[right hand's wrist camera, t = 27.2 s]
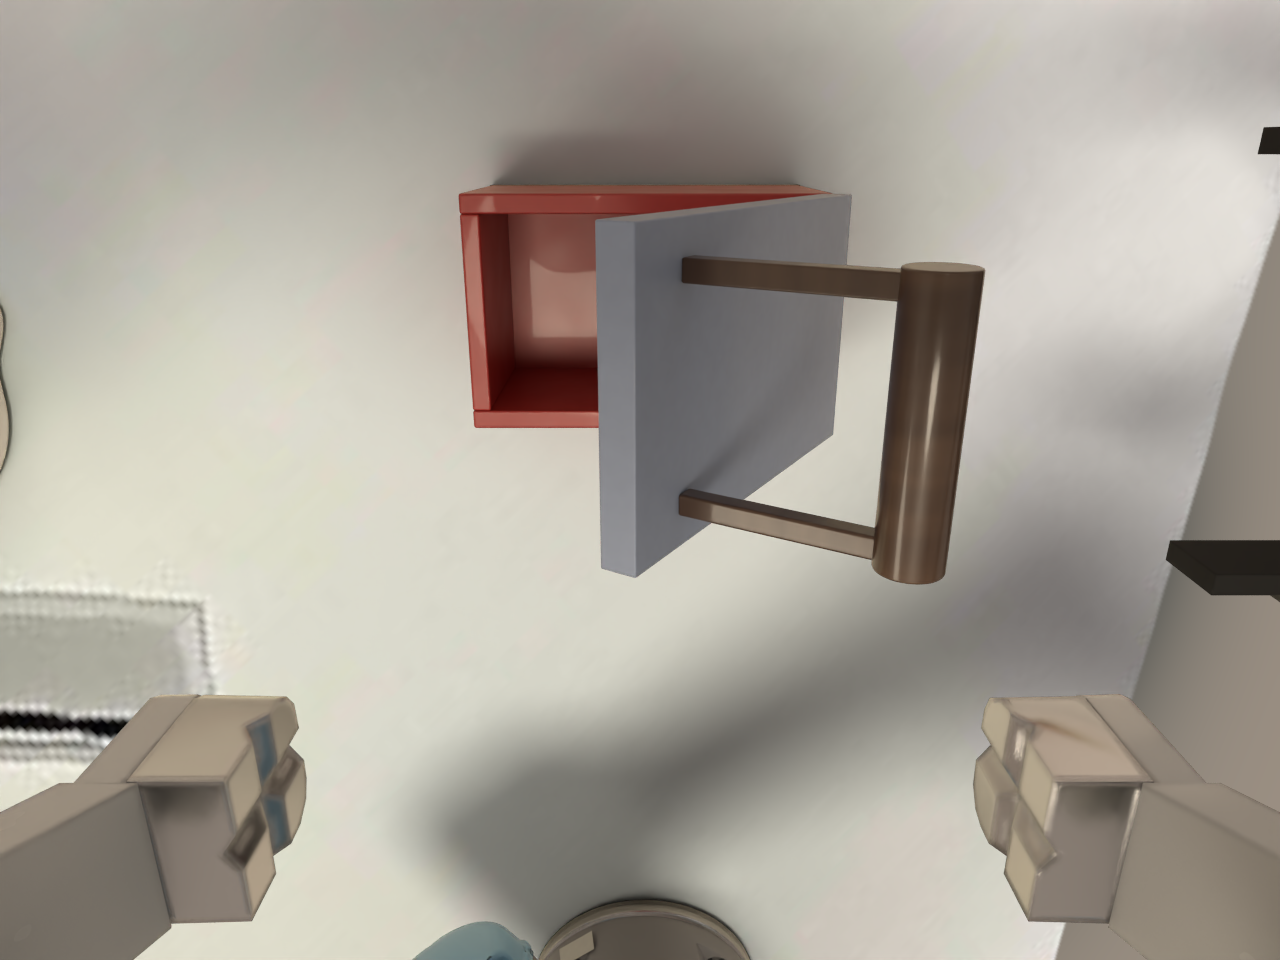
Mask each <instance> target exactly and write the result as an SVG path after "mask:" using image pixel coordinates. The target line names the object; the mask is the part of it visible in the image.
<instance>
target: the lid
mask: <svg viewBox="0 0 1280 960" xmlns="http://www.w3.org/2000/svg"><path fill="white" fill-rule="evenodd" d="M851 199H852V195H851V194H817V195H808V196H799V197H790V198H781V199H773V200H764V201H755V202H746V203H737V204H728V205H720V206H711V207H702V208H693V209H684V210H675V211H666V212H658V213H649V214H640V215H631V216H622V217H613V218H605V219H597V220H596V221H595V240H596V297H597V354H598V411H599V468H600V525H601V568H602V569H605V570H609V571H612V572H616V573H619V574H623V575H627V576H630V577H634V578H636V577H638V576H639V575H640V574H642V573H643V572H645V571H646V570H647V569H649V568H650V567H651V566H653V565H654V564H656V563H657V562H658V561H660V560H661V559H662V558H664V557H665V556H667V555H668V554H669V553H671V552H672V551H673V550H675V549H676V548H678V547H679V546H680V545H682V544H683V543H684V542H686V541H687V540H689V539H690V538H691V537H693V536H694V535H695V534H697V533H698V532H700V531H701V530H702V529H704V528H705V527H706V526H708V525H709V524H711V523H715V524H719V525H723V526H728V527H732V528H736V529H741V530H745V531H749V532H754V533H758V534H762V535H766V536H771V537H775V538H779V539H784V540H788V541H792V542H797V543H801V544H805V545H810V546H814V547H818V548H823V549H827V550H831V551H835V552H840V553H844V554H848V555H853V556H857V557H861V558H866V559H870V560H872V562H871V563H872V567H873V569H874V570H875V571H876V572H877V573H878V574H879V575H881V576H883V577H885V578H887V579H890V580H893V581H896V582H900V583H906V584H929V583H934V582H937V581H939V580H940V579H942V578H943V577H944V575H945V572H946V565H947V557H948V550H949V542H950V534H951V527H952V519H953V512H954V504H955V497H956V489H957V481H958V474H959V466H960V459H961V451H962V444H963V436H964V428H965V421H966V413H967V406H968V398H969V391H970V383H971V375H972V368H973V360H974V353H975V345H976V338H977V330H978V322H979V315H980V307H981V300H982V292H983V285H984V277H985V269H984V268H982V267H980V266H976V265H970V264H961V263H946V262H919V263H909V264H905V265H902V267H901V269H896V268H880V267H865V266H850V265H846V262H847V250H848V237H849V224H850V211H851ZM844 297H851V298H863V299H875V300H886V301H897V311H896V321H895V331H894V341H893V351H892V361H891V371H890V381H889V391H888V402H887V412H886V422H885V432H884V442H883V452H882V462H881V472H880V482H879V492H878V502H877V512H876V522H875V528H872V527H868V526H863V525H858V524H854V523H849V522H844V521H840V520H835V519H830V518H826V517H821V516H816V515H812V514H807V513H802V512H798V511H793V510H788V509H783V508H779V507H774V506H769V505H765V504H760V503H755V502H751V501H746V500H744V499H745V498H746V497H748V496H749V495H751V494H752V493H753V492H755V491H756V490H757V489H759V488H760V487H762V486H763V485H764V484H766V483H767V482H768V481H770V480H771V479H773V478H774V477H775V476H777V475H778V474H779V473H781V472H782V471H784V470H785V469H786V468H788V467H789V466H790V465H792V464H793V463H795V462H796V461H797V460H799V459H800V458H801V457H803V456H804V455H806V454H807V453H808V452H810V451H811V450H812V449H814V448H815V447H817V446H818V445H819V444H821V443H822V442H823V441H825V440H826V439H828V438H829V437H830V436H832V435H833V428H834V415H835V402H836V390H837V377H838V364H839V352H840V339H841V326H842V313H843V301H844Z"/></svg>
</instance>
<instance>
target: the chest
mask: <svg viewBox="0 0 1280 960" xmlns="http://www.w3.org/2000/svg"><path fill="white" fill-rule="evenodd" d="M817 194H832V193H828V192H824V191H820V190H816V189H811V188H807V187H803V186H800V185H490V186H488V187H484V188H480V189H476V190H472V191H468V192H464V193H460V194H459V209H460V213H461V215H460V223H461V238H462V253H463V267H464V282H465V297H466V311H467V326H468V340H469V355H470V370H471V384H472V399H473V409H474V412H473V414H474V426H475V427H476V428H599V411H598V354H597V297H596V240H595V221H596V220H597V219H605V218H613V217H622V216H631V215H640V214H649V213H658V212H666V211H675V210H684V209H693V208H702V207H711V206H720V205H728V204H737V203H746V202H755V201H764V200H773V199H781V198H790V197H799V196H808V195H817Z"/></svg>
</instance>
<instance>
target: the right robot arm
mask: <svg viewBox="0 0 1280 960" xmlns="http://www.w3.org/2000/svg"><path fill="white" fill-rule="evenodd" d="M2 336H3V316H2V312H1V310H0V348H1V343H2ZM8 436H9V421H8V411H7V406H6V401H5V397H4V393H3V389H2V385H1V381H0V470H1V467H2V465H3V462H4V459H5V455H6V451H7V445H8ZM298 729H299V726H298V721H297V716H296V711H295V706H294V703H293V702H292V701H291V700H290V699H289V698H288V697H284V696H236V695H203V696H201V695H159V696H156V697H152V698H150V699H149V700H148V701H147V702H146V703H145V705H144V706H143V707H142V708H141V709H140V710H139V711H138V712H137V713H136V714H135V716H134V717H133V718H132V719H131V720H130V721H129V722H128V723H127V724H126V726H125V727H124V728H123V729H122V730H121V731H120V732H119V733H118V734H117V736H116V737H115V738H114V739H113V740H112V741H111V742H110V743H109V744H108V745H107V747H106V748H105V749H104V750H103V751H102V752H101V753H100V754H99V755H98V757H97V758H96V759H95V760H94V761H93V762H92V763H91V764H90V765H89V766H88V768H87V769H86V770H85V771H84V772H83V773H82V774H81V775H80V776H79V778H78V779H77V780H76V781H75V782H74V783H59V784H57V785H55V786H53V787H51V788H49V789H46V790H44V791H42V792H40V793H38V794H36V795H34V796H32V797H30V798H28V799H26V800H24V801H22V802H20V803H18V804H16V805H14V806H12V807H10V808H8V809H6V810H4V811H2V812H0V960H133V959H135V958H136V957H137V956H138V955H139V954H141V953H142V952H143V951H144V950H145V949H147V948H148V947H149V946H150V945H151V944H153V943H154V942H155V941H156V940H157V939H159V938H160V937H161V936H162V935H163V934H165V933H166V932H167V931H168V930H170V929H171V924H173V923H208V922H242V921H252V920H253V918H254V916H255V914H256V912H257V910H258V908H259V906H260V904H261V902H262V900H263V898H264V896H265V894H266V892H267V890H268V888H269V886H270V885H271V883H272V881H273V879H274V877H275V875H276V870H275V864H274V858H273V856H274V855H275V854H277V853H278V852H280V851H281V850H282V849H284V848H285V847H287V846H288V845H290V844H291V843H292V841H293V839H294V837H295V834H296V832H297V830H298V828H299V826H300V824H301V820H302V815H303V811H304V806H305V802H306V779H307V778H306V771H305V764H304V760H303V759H302V758H301V757H300V755H299V754H298V753H297V752H296V751H295V750H294V749H293V748H292V747H291V746H290V745H289V744H290V742H291V741H292V739H293V737H294V736H295V734H296V732H297V730H298ZM981 729H982V730H983V732H984V734H985V736H986V737H987V739H988V741H989V742H990V744H991V745H990V746H989V747H988V748H987V749H986V750H985V751H984V752H983V753H982V754H981V755H980V757H979V758H978V759H977V760H976V765H975V773H974V781H973V789H974V799H975V809H976V812H977V816H978V819H979V823H980V826H981V828H982V830H983V832H984V835H985V837H986V839H987V841H988V843H989V844H990V845H992V846H993V847H995V848H996V849H998V850H999V851H1000V852H1002V853H1003V854H1005V855H1006V856H1007V858H1006V864H1005V869H1004V875H1005V877H1006V879H1007V881H1008V883H1009V885H1010V886H1011V888H1012V890H1013V892H1014V894H1015V896H1016V898H1017V900H1018V902H1019V904H1020V906H1021V908H1022V910H1023V912H1024V914H1025V916H1026V918H1027V920H1028V921H1036V922H1071V923H1107V924H1109V926H1108V927H1109V928H1110V929H1111V930H1112V931H1113V932H1115V933H1116V934H1117V935H1118V936H1119V937H1121V938H1122V939H1123V940H1124V941H1125V942H1127V943H1128V944H1129V945H1130V946H1131V947H1133V948H1134V949H1135V950H1136V951H1137V952H1139V953H1140V954H1141V955H1142V956H1143V957H1145V958H1146V959H1147V960H1280V812H1278V811H1276V810H1274V809H1272V808H1270V807H1268V806H1266V805H1264V804H1262V803H1260V802H1258V801H1256V800H1254V799H1252V798H1250V797H1248V796H1246V795H1244V794H1242V793H1240V792H1238V791H1235V790H1233V789H1231V788H1229V787H1227V786H1225V785H1223V784H1221V783H1206V782H1205V781H1204V780H1203V779H1202V778H1201V777H1200V775H1199V774H1198V773H1197V772H1196V771H1195V770H1194V769H1193V768H1192V767H1191V765H1190V764H1189V763H1188V762H1187V761H1186V760H1185V759H1184V758H1183V757H1182V755H1181V754H1180V753H1179V752H1178V751H1177V750H1176V749H1175V748H1174V747H1173V746H1172V744H1171V743H1170V742H1169V741H1168V740H1167V739H1166V738H1165V737H1164V736H1163V734H1162V733H1161V732H1160V731H1159V730H1158V729H1157V728H1156V727H1155V726H1154V724H1153V723H1152V722H1151V721H1150V720H1149V719H1148V718H1147V717H1146V716H1145V714H1144V713H1143V712H1142V711H1141V710H1140V709H1139V708H1138V707H1137V706H1136V705H1135V703H1134V702H1133V701H1132V700H1131V699H1129V698H1127V697H1125V696H1123V695H1121V694H1106V695H1077V696H1062V697H1007V698H990V699H989V701H988V703H987V705H986V707H985V709H984V714H983V720H982V726H981Z"/></svg>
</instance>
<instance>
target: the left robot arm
mask: <svg viewBox="0 0 1280 960" xmlns="http://www.w3.org/2000/svg"><path fill="white" fill-rule="evenodd" d="M1258 154H1280V127H1264V129H1263V133H1262V138H1261V142H1260V146H1259V151H1258ZM1166 560H1167V561H1168V562H1169V563H1171V564H1172V565H1173V566H1175V567H1176V568H1177V569H1178V570H1180V571H1181V572H1182V573H1184V574H1185V575H1186V576H1187V577H1189V578H1190V579H1191V580H1192V581H1194V582H1195V583H1196V584H1198V585H1199V586H1200V587H1202V588H1203V589H1204V590H1205V591H1207V592H1208V593H1209V594H1210V595H1271V596H1272V597H1273V598H1275V599H1276V600H1278V601H1279V602H1280V540H1206V541H1205V540H1203V541H1201V540H1198V541H1196V540H1195V541H1194V540H1190V541H1189V540H1188V541H1187V540H1186V541H1185V540H1179V541H1170V543H1169V548H1168V552H1167V557H1166ZM413 960H537V959H536V958H535V957H534V956H533V951H532V950H531V946H530V945H529V943H528V942H526V941H524V940H519V939H518V938H517V937H516V936H515V935H513V934H512V933H511V932H510V931H509V930H507V929H506V928H505V927H503V926H502V925H500V924H497V923H494V922H475V923H471V924H467V925H464V926H462V927H459V928H457V929H455V930H453V931H451V932H449V933H447V934H446V935H444V936H442V937H441V938H439V939H438V940H437V941H436V942H435V943H433V944H432V945H431V946H429V947H428V948H426V949H425V950H423V951H422V952H421V953H420V954H418V955H417V956H416V957H415V958H414V959H413ZM539 960H750V959H749V957H748V954H747V952H746V950H745V949H744V947H743V945H742V944H741V942H740V941H739V940H738V938H737V937H736V936H735V935H734V934H733V933H732V932H731V931H730V930H729V929H728V928H727V927H725V926H724V925H723V924H721V923H720V922H719V921H717V920H716V919H714V918H712V917H711V916H709V915H707V914H705V913H703V912H701V911H699V910H696V909H693V908H691V907H688V906H684V905H681V904H677V903H672V902H667V901H658V900H631V901H622V902H617V903H612V904H608V905H604V906H601V907H598V908H595V909H593V910H590V911H588V912H586V913H584V914H581V915H580V916H578V917H576V918H575V919H573V920H571V921H570V922H568V923H567V924H566V925H564V926H563V927H562V928H561V929H560V930H559V931H557V932H556V934H555V935H554V936H553V937H552V938H551V939H550V940H549V942H548V943H547V944H546V946H545V947H544V949H543V951H542V953H541V955H540V957H539Z"/></svg>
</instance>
